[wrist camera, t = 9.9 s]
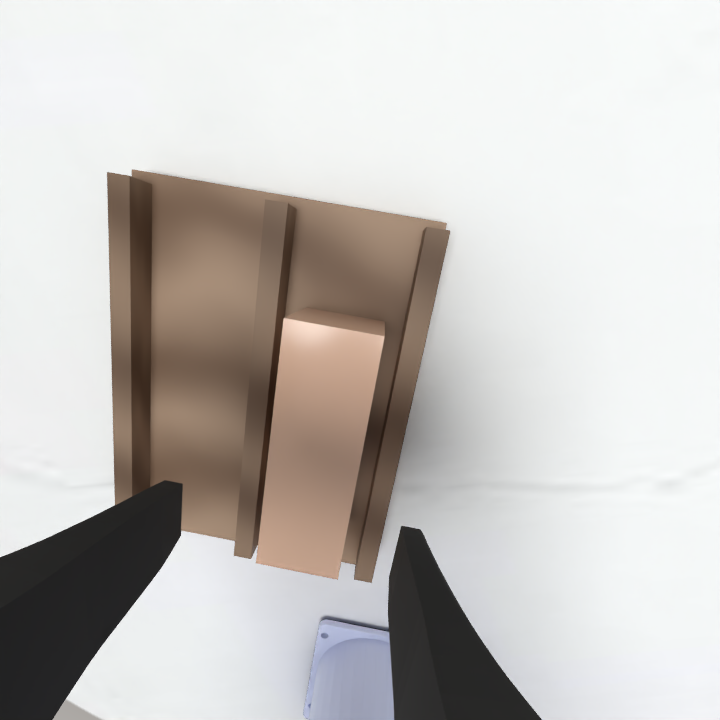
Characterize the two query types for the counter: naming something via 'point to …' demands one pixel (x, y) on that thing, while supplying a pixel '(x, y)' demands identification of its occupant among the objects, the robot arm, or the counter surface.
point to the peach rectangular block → (317, 438)
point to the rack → (251, 339)
